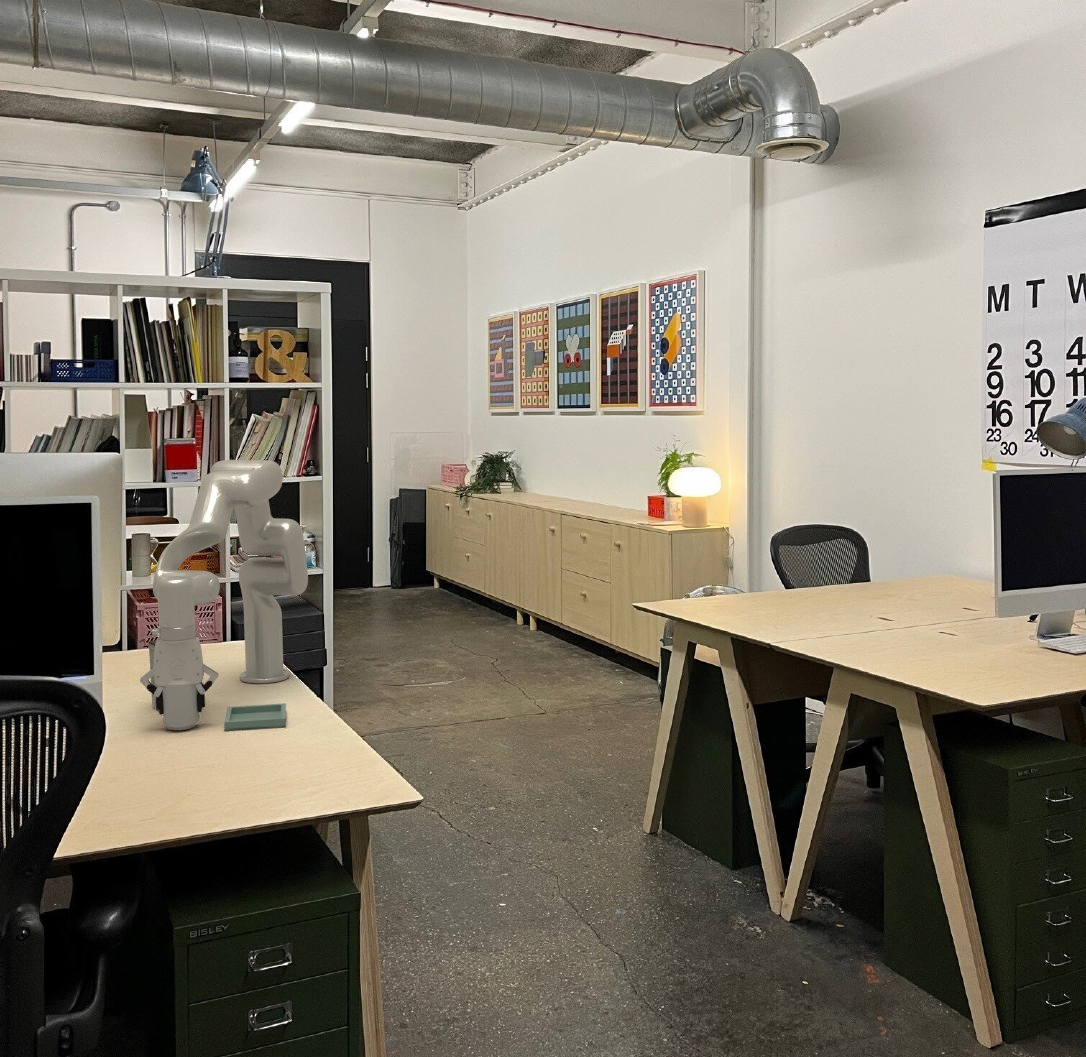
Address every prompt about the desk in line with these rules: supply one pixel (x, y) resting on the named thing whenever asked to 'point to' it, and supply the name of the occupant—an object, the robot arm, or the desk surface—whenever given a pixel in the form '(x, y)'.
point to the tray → (255, 717)
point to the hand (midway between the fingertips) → (181, 711)
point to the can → (180, 705)
